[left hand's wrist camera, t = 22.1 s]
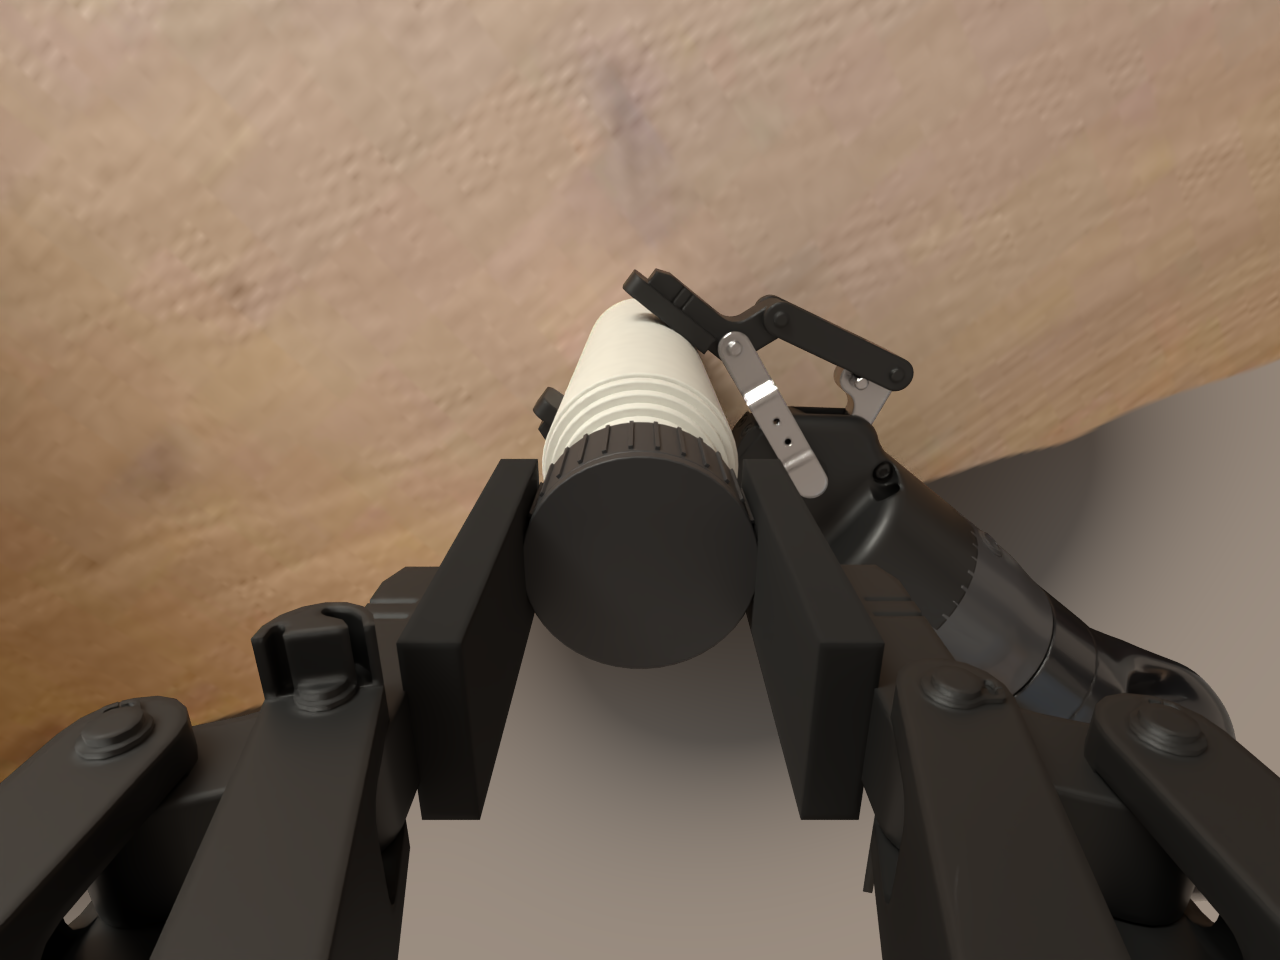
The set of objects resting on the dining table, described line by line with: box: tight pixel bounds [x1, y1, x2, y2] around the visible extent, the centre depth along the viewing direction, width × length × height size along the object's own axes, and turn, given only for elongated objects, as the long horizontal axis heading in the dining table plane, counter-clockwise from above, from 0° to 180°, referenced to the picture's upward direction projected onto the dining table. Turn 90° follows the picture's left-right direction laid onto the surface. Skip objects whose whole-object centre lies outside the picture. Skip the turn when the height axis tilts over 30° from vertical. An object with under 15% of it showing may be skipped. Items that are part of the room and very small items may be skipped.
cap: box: [523, 421, 758, 669], centre depth 14 cm, size 4×4×2 cm
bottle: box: [542, 298, 738, 480], centre depth 23 cm, size 5×5×21 cm
